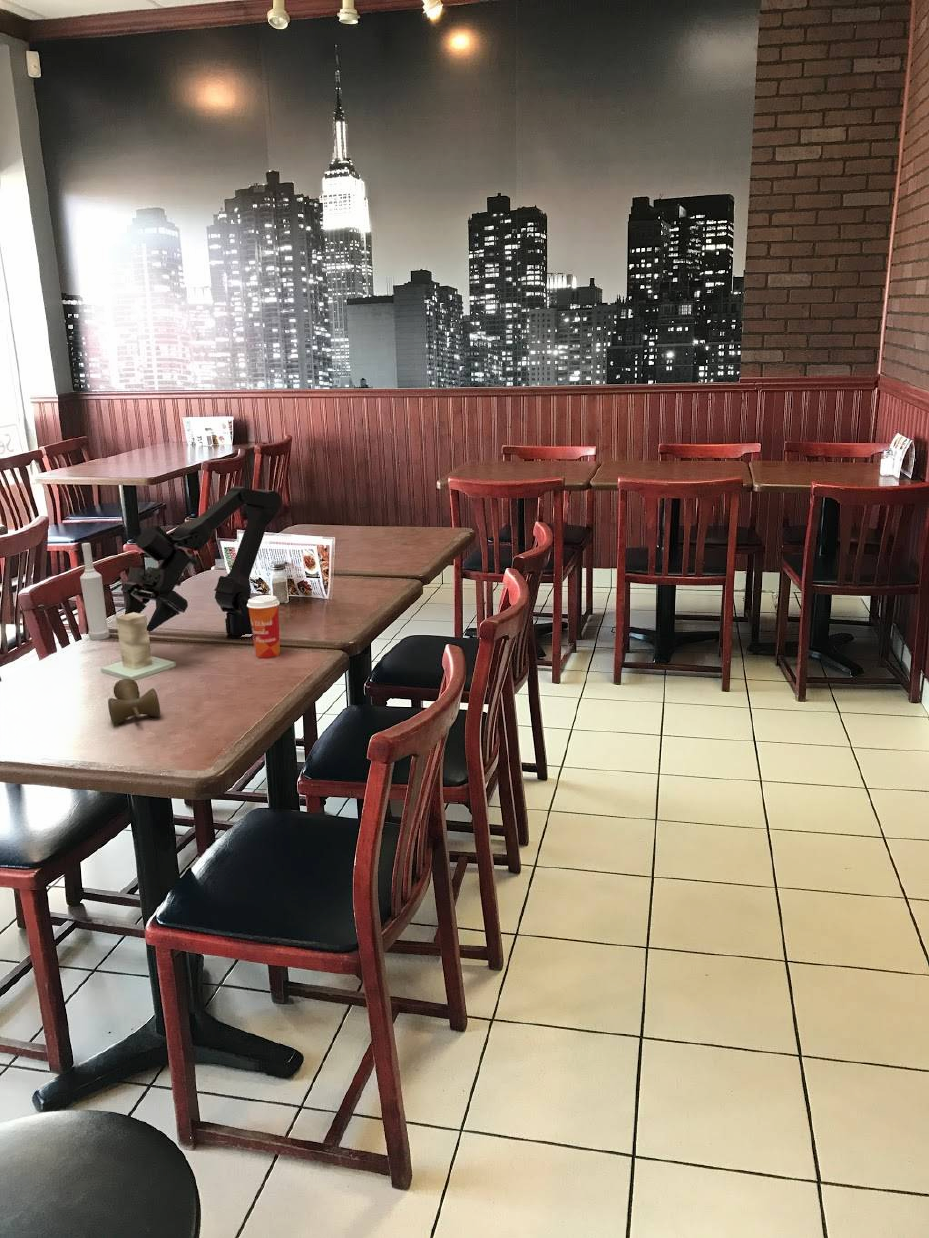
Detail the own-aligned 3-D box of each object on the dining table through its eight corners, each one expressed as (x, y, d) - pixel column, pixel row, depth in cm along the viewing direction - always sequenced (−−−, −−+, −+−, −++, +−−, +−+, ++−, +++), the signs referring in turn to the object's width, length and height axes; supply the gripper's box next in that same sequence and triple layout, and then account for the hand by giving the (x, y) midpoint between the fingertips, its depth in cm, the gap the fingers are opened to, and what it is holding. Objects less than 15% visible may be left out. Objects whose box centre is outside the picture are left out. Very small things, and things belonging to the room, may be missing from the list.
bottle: (114, 635, 262) (101, 542, 255) (99, 641, 258) (85, 546, 251) (99, 633, 264) (85, 541, 257) (84, 639, 260) (70, 545, 253)
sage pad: (145, 658, 243) (144, 654, 242) (175, 666, 235) (175, 662, 235) (101, 672, 234) (100, 667, 233) (131, 681, 226) (131, 677, 226)
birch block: (140, 660, 237) (133, 612, 234) (152, 664, 235) (146, 615, 231) (122, 666, 234) (115, 617, 230) (135, 669, 231) (128, 620, 228)
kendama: (150, 697, 217) (165, 725, 200) (104, 706, 214) (115, 736, 196) (146, 671, 216) (161, 697, 198) (99, 680, 212) (110, 707, 194)
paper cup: (245, 658, 240) (239, 601, 236) (263, 648, 246) (257, 593, 242) (273, 660, 237) (268, 603, 233) (290, 651, 243) (285, 595, 240)
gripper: (122, 549, 237) (87, 605, 232) (170, 557, 226) (135, 616, 221) (154, 574, 245) (121, 628, 240) (202, 583, 234) (169, 640, 229)
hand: (136, 627), depth 232 cm, fingers open, 9 cm apart
